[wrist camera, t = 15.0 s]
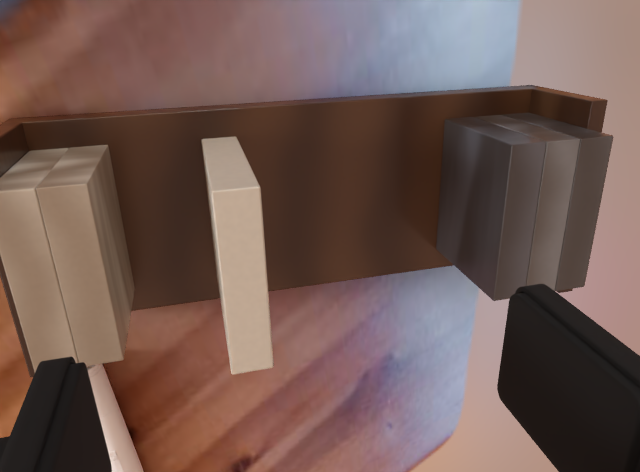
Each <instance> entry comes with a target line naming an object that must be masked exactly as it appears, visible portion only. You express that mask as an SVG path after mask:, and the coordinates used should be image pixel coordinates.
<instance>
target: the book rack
mask: <svg viewBox="0 0 640 472" xmlns="http://www.w3.org/2000/svg"><path fill="white" fill-rule="evenodd" d="M606 105H607V100H605V99H600V98H594V97H589V96H584V95H579V94H574V93H569V92H564V91H558V90H554V89H549V88H544V87H538V86H533V85H526V86H511V87H495V88H479V89H464V90H448V91H433V92H417V93H401V94H386V95H370V96H355V97H339V98H324V99H308V100H292V101H277V102H261V103H246V104H230V105H214V106H199V107H183V108H168V109H152V110H136V111H121V112H105V113H90V114H74V115H58V116H43V117H27V118H12V119H8V120H7V121H5V122H4V123H2V124H1V125H0V276H1V280H2V283H3V287H4V290H5V293H6V297H7V300H8V303H9V307H10V310H11V314H12V317H13V320H14V324H15V327H16V330H17V334H18V337H19V340H20V344H21V347H22V351H23V354H24V357H25V361H26V364H27V367H28V371H29V374H30V377H34V374H35V372H36V369H37V367H38V365H39V363H40V362H41V361H46V360H52V359H59V358H65V357H73V358H74V360H75V362H76V363H81V362H84V363H85V364H86V366H91V365H97V364H103V363H109V362H116V361H122V360H124V354H125V348H126V341H127V335H128V329H129V322H130V316H131V311H133V310H140V309H147V308H154V307H161V306H169V305H176V304H183V303H190V302H197V301H204V300H211V299H218V298H220V293H219V286H218V280H217V271H216V263H215V254H214V246H213V237H212V228H211V220H210V211H209V202H208V194H207V185H206V176H205V168H204V159H203V151H202V142H201V140H202V139H209V138H222V137H236V138H237V140H238V142H239V144H240V146H241V148H242V150H243V152H244V154H245V156H246V158H247V161H248V163H249V165H250V167H251V169H252V171H253V173H254V175H255V177H256V179H257V181H258V184H259V186H260V188H261V200H262V213H263V227H264V241H265V254H266V268H267V281H268V291H275V290H282V289H289V288H296V287H303V286H310V285H317V284H324V283H331V282H338V281H346V280H353V279H360V278H367V277H374V276H381V275H388V274H395V273H402V272H409V271H416V270H423V269H430V268H438V267H445V266H452V265H455V266H456V267H457V268H458V269H459V270H460V271H461V272H462V273H463V274H464V275H466V276H467V277H468V278H469V279H470V280H471V281H472V282H473V283H474V284H476V285H477V286H478V287H479V288H480V289H481V290H482V291H483V292H484V293H486V294H487V295H488V296H489V297H490V298H491V299H492V300H494V301H496V300H502V299H508V298H510V297H511V296H512V295H513V294H515V292H516V290H517V289H518V288H519V287H523V286H529V285H536V284H545V285H547V286H548V287H550V288H551V289H552V290H554V291H557V292H559V293H560V292H568V291H572V289H573V288H578V287H583V286H584V285H585V280H586V274H587V270H588V264H589V259H590V254H591V249H592V244H593V239H594V233H595V228H596V223H597V218H598V213H599V207H600V203H601V198H602V192H603V187H604V182H605V177H606V172H607V167H608V162H609V156H610V151H611V146H612V141H613V136H612V135H608V134H604V133H602V127H603V122H604V116H605V110H606Z"/></svg>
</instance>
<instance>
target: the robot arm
mask: <svg viewBox="0 0 640 472" xmlns="http://www.w3.org/2000/svg"><path fill="white" fill-rule="evenodd" d="M498 393H499V397H500V399H501V401H502V402H503V403H504V404H505V406H506V407H507V408H508V410H510V412H511V413H512V415H513V416H514V417H515V418H516V419H517V421H518V422H519V423H520V424H521V426H522V427H523V428H524V429H525V430H526V432H527V433H528V434H529V435H530V437H531V438H532V439H533V440H534V442H535V443H536V444H537V445H538V446H539V448H540V449H541V450H542V451H543V453H544V454H545V455H546V456H547V458H548V459H549V460H550V461H551V463H552V464H553V465H554V466H555V467H556V469H557V470H558V471H559V472H640V356H639V355H637V354H636V353H635V352H634V351H632V350H631V349H630V348H628V347H627V346H626V345H624V344H623V343H622V342H620V341H619V340H618V339H616V338H615V337H614V336H613V335H611V334H610V333H609V332H607V331H606V330H605V329H603V328H602V327H601V326H599V325H598V324H597V323H596V322H594V321H593V320H592V319H590V318H589V317H588V316H586V315H585V314H584V313H583V312H581V311H580V310H579V309H577V308H576V307H575V306H573V305H572V304H571V303H569V302H568V301H567V300H565V299H564V298H563V297H561V296H560V295H559V294H558V293H556V292H555V291H554V290H552V289H551V288H550V287H548V286H547V285H545V284H536V285H529V286H523V287H519V288H518V289H517V290H516V292H515V294H513V295H512V296H511V297H510V301H509V308H508V314H507V321H506V328H505V336H504V343H503V350H502V357H501V364H500V371H499V379H498ZM0 472H112V467H111V461H110V457H109V453H108V449H107V445H106V441H105V437H104V433H103V429H102V425H101V421H100V417H99V413H98V409H97V406H96V402H95V398H94V394H93V390H92V386H91V382H90V378H89V374H88V370H87V367H86V364H85V363H84V362H81V363H76V362H75V360H74V358H73V357H65V358H59V359H52V360H46V361H41V362H40V363H39V365H38V367H37V369H36V372H35V374H34V377H33V379H32V382H31V385H30V387H29V390H28V392H27V395H26V397H25V400H24V402H23V405H22V407H21V410H20V412H19V415H18V417H17V420H16V422H15V425H14V427H13V430H12V432H11V435H10V437H4V438H0Z"/></svg>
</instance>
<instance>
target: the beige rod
mask: <svg viewBox="0 0 640 472" xmlns="http://www.w3.org/2000/svg"><path fill="white" fill-rule="evenodd" d="M86 367H87V370H88V374H89V378H90V382H91V386H92V390H93V394H94V398H95V402H96V406H97V409H98V413H99V417H100V421H101V425H102V429H103V433H104V437H105V441H106V445H107V449H108V453H109V457H110V461H111V467H112V472H144V471H143V468H142V465H141V463H140V460H139V458H138V455H137V452H136V450H135V447H134V445H133V442H132V439H131V437H130V434H129V432H128V429H127V426H126V424H125V421H124V419H123V416H122V413H121V411H120V408H119V406H118V403H117V400H116V398H115V395H114V393H113V390H112V387H111V385H110V382H109V379H108V377H107V374H106V372H105V369H104V366H103V364H97V365H91V366H86Z"/></svg>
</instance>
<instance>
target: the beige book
mask: <svg viewBox="0 0 640 472" xmlns="http://www.w3.org/2000/svg"><path fill="white" fill-rule="evenodd" d="M201 142H202V151H203V159H204V168H205V176H206V185H207V194H208V202H209V211H210V220H211V228H212V237H213V246H214V254H215V263H216V271H217V280H218V286H219V293H220V300H221V307H222V313H223V320H224V327H225V334H226V340H227V347H228V354H229V361H230V367H231V373H232V374H239V373H245V372H251V371H257V370H262V369H268V368H273V366H274V363H273V349H272V335H271V322H270V308H269V295H268V281H267V268H266V254H265V241H264V227H263V213H262V200H261V188H260V186H259V184H258V181H257V179H256V177H255V175H254V173H253V171H252V169H251V167H250V165H249V163H248V161H247V158H246V156H245V154H244V152H243V150H242V148H241V146H240V144H239V142H238V140H237V138H236V137H222V138H209V139H202V140H201Z"/></svg>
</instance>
